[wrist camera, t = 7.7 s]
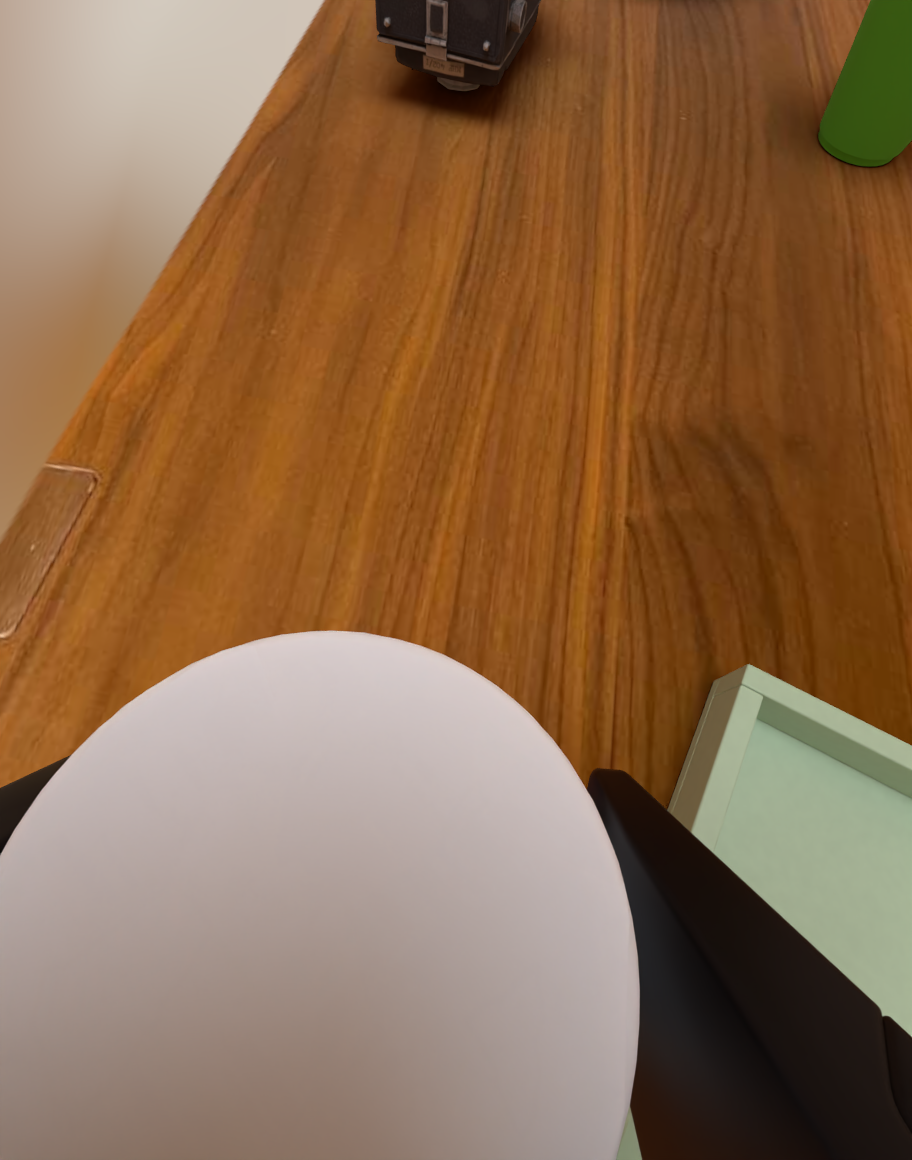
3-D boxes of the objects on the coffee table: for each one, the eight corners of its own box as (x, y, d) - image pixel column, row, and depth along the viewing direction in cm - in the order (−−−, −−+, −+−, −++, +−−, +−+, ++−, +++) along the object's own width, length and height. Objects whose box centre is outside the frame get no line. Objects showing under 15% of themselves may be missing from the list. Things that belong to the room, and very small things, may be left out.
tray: (1064, 1550, 13) (1203, 1711, 10) (534, 1177, 15) (552, 1241, 13) (1098, 878, 18) (1193, 886, 16) (713, 680, 21) (748, 662, 18)
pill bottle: (277, 743, 14) (-18, 576, 5) (504, 730, 14) (638, 552, 5) (258, 1029, 11) (-413, 1810, 2) (531, 1005, 12) (868, 1594, 3)
